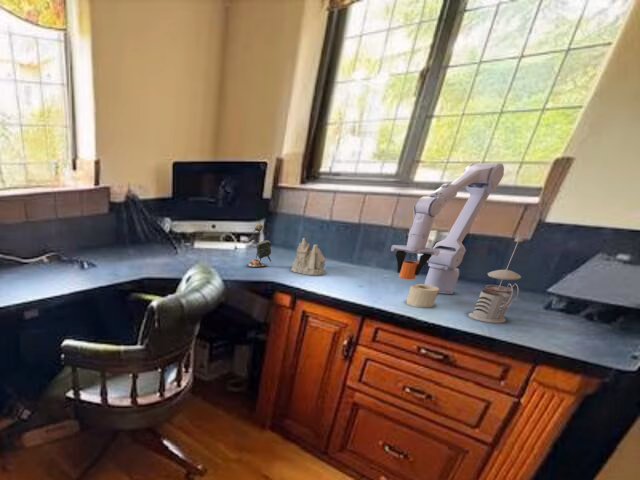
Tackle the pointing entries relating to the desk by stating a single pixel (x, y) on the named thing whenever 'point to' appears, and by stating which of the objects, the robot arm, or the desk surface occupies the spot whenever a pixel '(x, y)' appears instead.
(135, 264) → the desk surface
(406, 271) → the cup
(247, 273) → the desk surface
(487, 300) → the french press
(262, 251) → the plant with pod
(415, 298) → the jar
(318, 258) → the ceramic cottage
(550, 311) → the desk surface
